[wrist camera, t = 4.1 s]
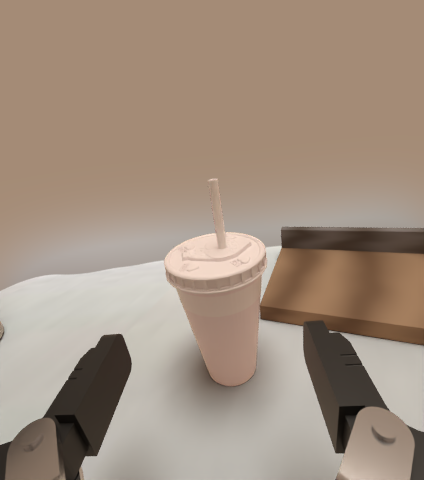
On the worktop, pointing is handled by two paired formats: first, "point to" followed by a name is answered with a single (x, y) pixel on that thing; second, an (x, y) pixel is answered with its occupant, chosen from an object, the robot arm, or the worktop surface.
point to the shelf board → (350, 281)
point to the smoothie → (221, 295)
